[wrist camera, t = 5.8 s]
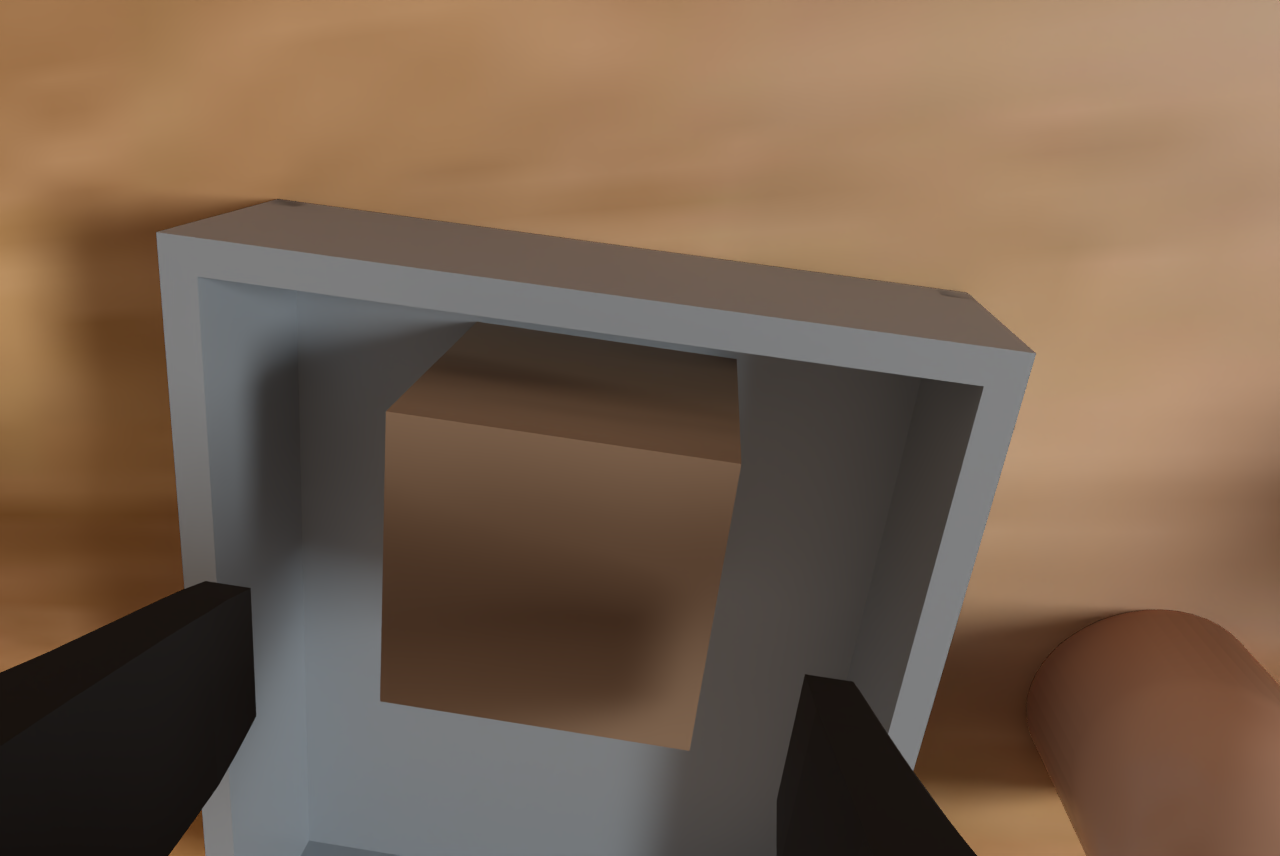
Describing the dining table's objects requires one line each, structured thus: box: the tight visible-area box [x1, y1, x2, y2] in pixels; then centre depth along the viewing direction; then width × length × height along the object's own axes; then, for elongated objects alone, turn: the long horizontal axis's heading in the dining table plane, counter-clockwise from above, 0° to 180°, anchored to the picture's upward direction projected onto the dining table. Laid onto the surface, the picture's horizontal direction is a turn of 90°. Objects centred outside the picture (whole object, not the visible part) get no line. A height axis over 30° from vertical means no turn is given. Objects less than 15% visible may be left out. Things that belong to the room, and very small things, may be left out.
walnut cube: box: [380, 322, 741, 751], centre depth 16 cm, size 5×5×5 cm
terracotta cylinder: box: [1026, 610, 1280, 856], centre depth 16 cm, size 5×5×7 cm
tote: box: [156, 199, 1036, 856], centre depth 18 cm, size 16×13×4 cm
